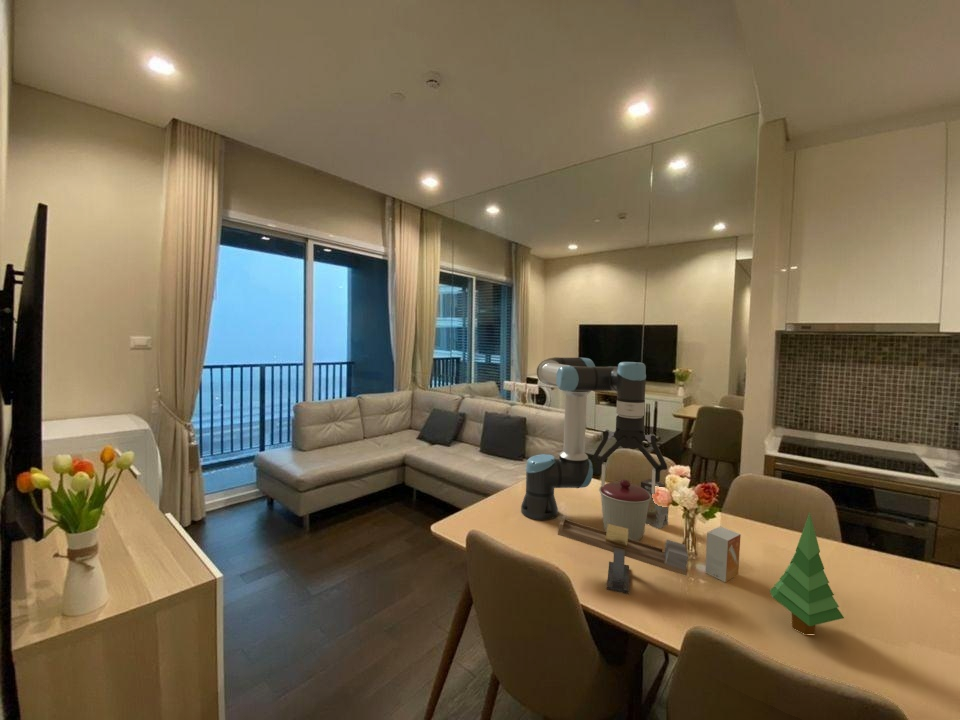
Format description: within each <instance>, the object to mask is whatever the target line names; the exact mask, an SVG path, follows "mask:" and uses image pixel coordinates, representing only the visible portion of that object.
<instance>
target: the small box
mask: <svg viewBox="0 0 960 720" xmlns="http://www.w3.org/2000/svg"><path fill="white" fill-rule="evenodd" d="M741 535H742V534H740V533H738V532H736V531H733V530H731V529H728V528H726V527H723V526H718V527H716V528H713V529H711V530H709V531H707V533H706V548H705V549H706V550H705V564H704V565H705V566H704V572H705V573H706V574H707V575H710V576H711V577H713V578H715V579H718V580H719V581H722V582H724V583H727V582H728V581H730V580H731V579H733V578H735V577H736V576H738V575H739V569H740V568H739V567H740V566H739V565H740V564H739V563H740V550H741V549H740V547H741Z"/></svg>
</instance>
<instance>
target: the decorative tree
mask: <svg viewBox="0 0 960 720" xmlns="http://www.w3.org/2000/svg"><path fill="white" fill-rule="evenodd" d="M806 518H807V519H806V521H805V524H804V527H803V530H802V533H801V535H800V538H799V541H798V543H797V546H796V548H795V553H794V554H793V557H792V559H791V561H790V562H789V565H788V566H787V568H786V569H785V571H784V573H783V574H782V575H781V576H780V577H779V580H778V581H777V582H776V583H775V584H774V587H772V588H771V589H769V592H770V595H771V597H772V598H773V599H774V600H775V601H777V603H779V604H780V605H782V606H783V607H784V608H785V609H787V610H788V611H789V612H790V613H791V622H792V623H791V627H793V628H794V629H796V630H798V631H800V632H802V633H804V634H815V635H816V626H817V625H821V624H826V623H829V622H833V621H838V620H842V619H845V616H844V615H843V614H842V612H841V611H840V610H839V608H840V606H839V604H838V603H837V601H836V599H835V598H834V595H835V593H834V592H833V590H832V589H831V586H830V585H829V583H830V581H829V579H828V577H827V574H826V573H825V566H824V563H823V561H822V557H821V555H820V552H821V549H820V546H819V543H818V538H817V535H816V531H815V527H814V524H813V519H812V514H811V512H809V513H808V515H807V517H806ZM793 628H792V629H793ZM794 629H793V630H794ZM796 630H795V631H796ZM798 631H797V632H798ZM800 632H799V633H800ZM802 633H801V634H802Z"/></svg>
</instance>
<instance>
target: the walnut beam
mask: <svg viewBox="0 0 960 720" xmlns="http://www.w3.org/2000/svg"><path fill="white" fill-rule="evenodd" d="M606 533H607V532H606V531H605V530H602V529H599V528H596V527H592V526H588V525H586V524H582V523H579V522H577V521H576V522H575V521H573V520H570V519H567V515H564V514H562V517H561V519H560V522H559V526H558V530H557V535H558V536H561V537H564V538H567V539H571V540H572V541H573V540H574V541H576V542H579V543H583V544H585V545H589V546H590V547H591V546H592V547H594V548H598V549H600V550H604V551H607V552H610V553H612V554H614V547H615V548H620V549H625V557H627V558H629V559H631V560H635V561H639V562H642V563H645V564H648V565H651V566H654V567H658V568H660V569H664V570H667V571H669V572H672V573H676V574H679V575H683V576H685V577H687V575H688V571H689V570H688V567H687V565H688V561H689V554H688V550H687V547H686V546H687V545H686V544H683V543H680V542H676V541H673V540H669V539H666V541H665V546H664V549H663V548H661V547H657V546H655V545H652V544H648V543H644V542H641V541H635V540H632V539H629V538H628V541H627V548H625V547H622V546H618V545H615V544H612V543H609V542H606Z"/></svg>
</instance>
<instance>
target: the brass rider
mask: <svg viewBox="0 0 960 720" xmlns="http://www.w3.org/2000/svg"><path fill="white" fill-rule="evenodd" d="M627 541H628V528H623V527H619V526H615V525H611V524H608V525H607V533H606V542H609V543H612V544H615V545H618V546H622V547H625V548H627Z"/></svg>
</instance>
